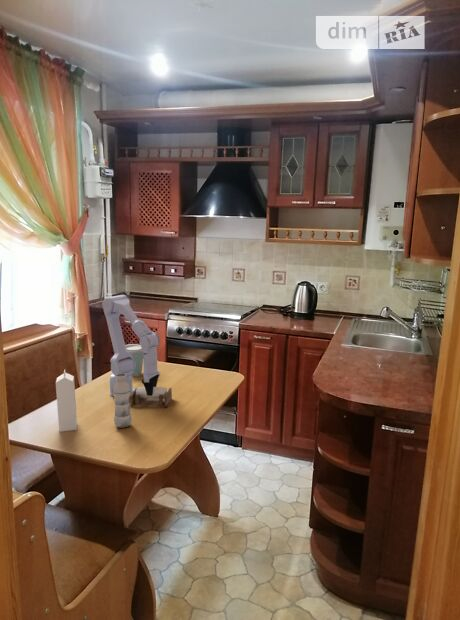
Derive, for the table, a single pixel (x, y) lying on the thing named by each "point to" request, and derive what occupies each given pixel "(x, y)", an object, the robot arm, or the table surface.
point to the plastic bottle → (122, 402)
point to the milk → (66, 402)
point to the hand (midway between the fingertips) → (151, 392)
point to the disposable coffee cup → (136, 357)
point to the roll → (156, 392)
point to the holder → (151, 400)
